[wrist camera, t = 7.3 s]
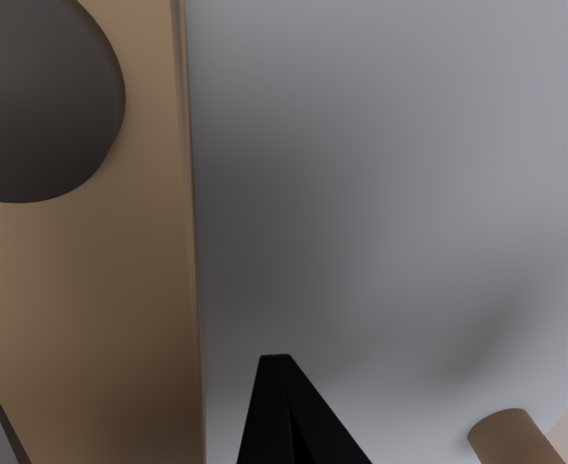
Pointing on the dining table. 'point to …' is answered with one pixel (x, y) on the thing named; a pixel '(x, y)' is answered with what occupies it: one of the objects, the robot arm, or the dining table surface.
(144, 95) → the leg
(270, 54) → the grey peg board
